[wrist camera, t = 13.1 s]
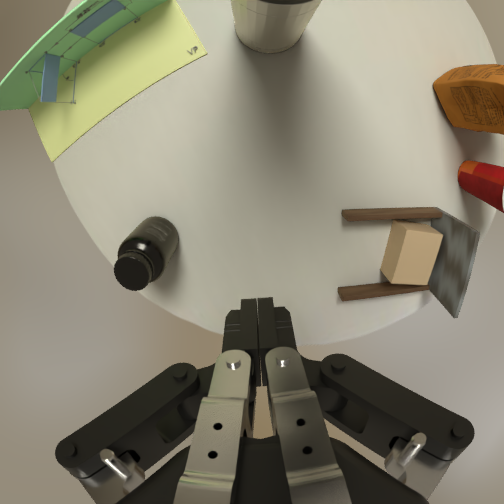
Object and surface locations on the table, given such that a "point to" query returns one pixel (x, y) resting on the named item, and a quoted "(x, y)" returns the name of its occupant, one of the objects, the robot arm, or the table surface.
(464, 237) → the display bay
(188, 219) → the table surface
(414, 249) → the carton
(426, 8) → the table surface
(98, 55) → the display stand
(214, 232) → the table surface
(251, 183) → the table surface
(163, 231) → the supplement bottle
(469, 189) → the paper cup
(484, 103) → the coffee package
